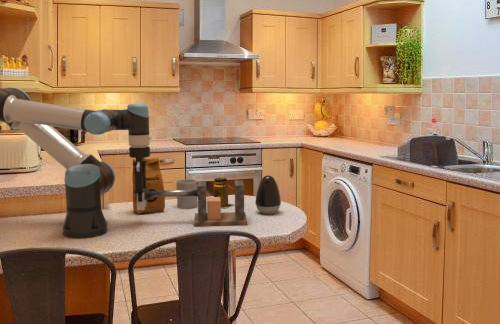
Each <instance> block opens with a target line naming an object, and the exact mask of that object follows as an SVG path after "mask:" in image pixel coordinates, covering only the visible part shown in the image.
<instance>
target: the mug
mask: <svg viewBox="0 0 500 324" xmlns="http://www.w3.org/2000/svg"><path fill="white" fill-rule="evenodd" d="M197 186H198V181H197V179H191V178H189V179H188V178H184V179H179V180H176V190H198V187H197ZM176 202H177V204H176V205H177V208H179V209H185V210H188V209H195V208H198V196H182V197H176Z"/></svg>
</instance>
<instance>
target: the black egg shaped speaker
mask: <svg viewBox="0 0 500 324" xmlns="http://www.w3.org/2000/svg"><path fill="white" fill-rule="evenodd" d="M281 198H282V197H281V193H280V189H279V186H278V183H277V181H276V179H275V178H274V176H272V175H264V176H263V177H262V178H261V179H260V180H259V183H258V186H257V190H256V195H255V201H254V202H255V206H256V208H257V210H258V211H259V213H261V214H263V215H273V214H275V213H277V212H278V211H279V210H280V207H281V204H282V200H281Z"/></svg>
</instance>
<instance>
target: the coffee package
mask: <svg viewBox="0 0 500 324" xmlns="http://www.w3.org/2000/svg"><path fill="white" fill-rule="evenodd" d="M159 159H160V157H152V158H144V161H146V187H148V191H163V190H165V187H164V181H163V175H162V172H161V166H160V160H159ZM135 161H136V158H135V159H134V158H132V176H131V177H132V207H133V208H132V209H133V211H134V212H135V213H137V214H138V213H139V214H149V213H158V212H164V211H165V207H166V200H165V199H166V197H148V200H146V207H145V210H137V200H136V193H134V191H135V190H136V188H135V169H134V162H135Z"/></svg>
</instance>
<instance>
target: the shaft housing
mask: <svg viewBox="0 0 500 324" xmlns="http://www.w3.org/2000/svg"><path fill="white" fill-rule="evenodd" d="M197 190H198V196H197V202H198V206H197V212H195V213H194V220H193V227H195V228H196V227H223V226H224V227H225V226H227V227H228V226H232V227H233V226H248V218H247V215H246V211H245V184H244V180H234V212H233V211H231V212H226V211H225V212H221V219H218V220H207V180H201V181H199V180H198V181H197Z"/></svg>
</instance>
